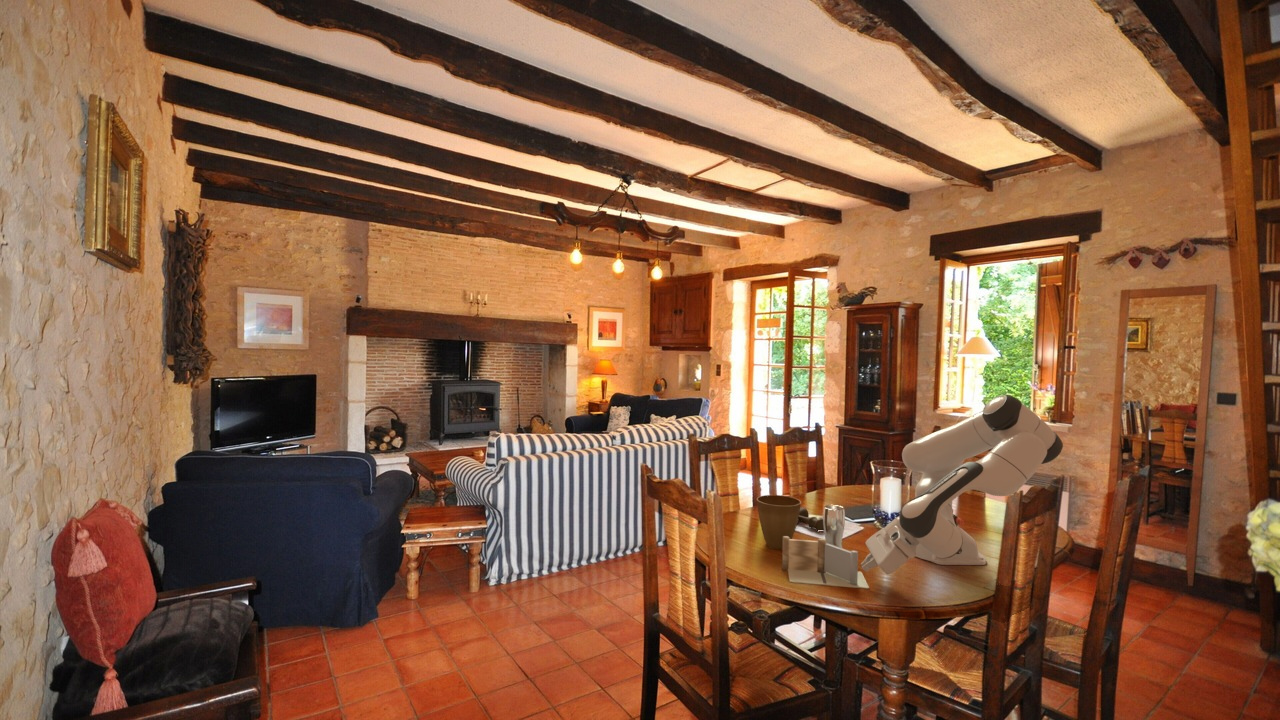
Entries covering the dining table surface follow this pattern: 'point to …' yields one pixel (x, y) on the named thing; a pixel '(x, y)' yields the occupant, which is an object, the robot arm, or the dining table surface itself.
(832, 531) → the beer glass
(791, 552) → the fence fixed section
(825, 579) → the card
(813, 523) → the kendama
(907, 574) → the dining table surface
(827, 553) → the fence gate
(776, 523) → the plant pot
